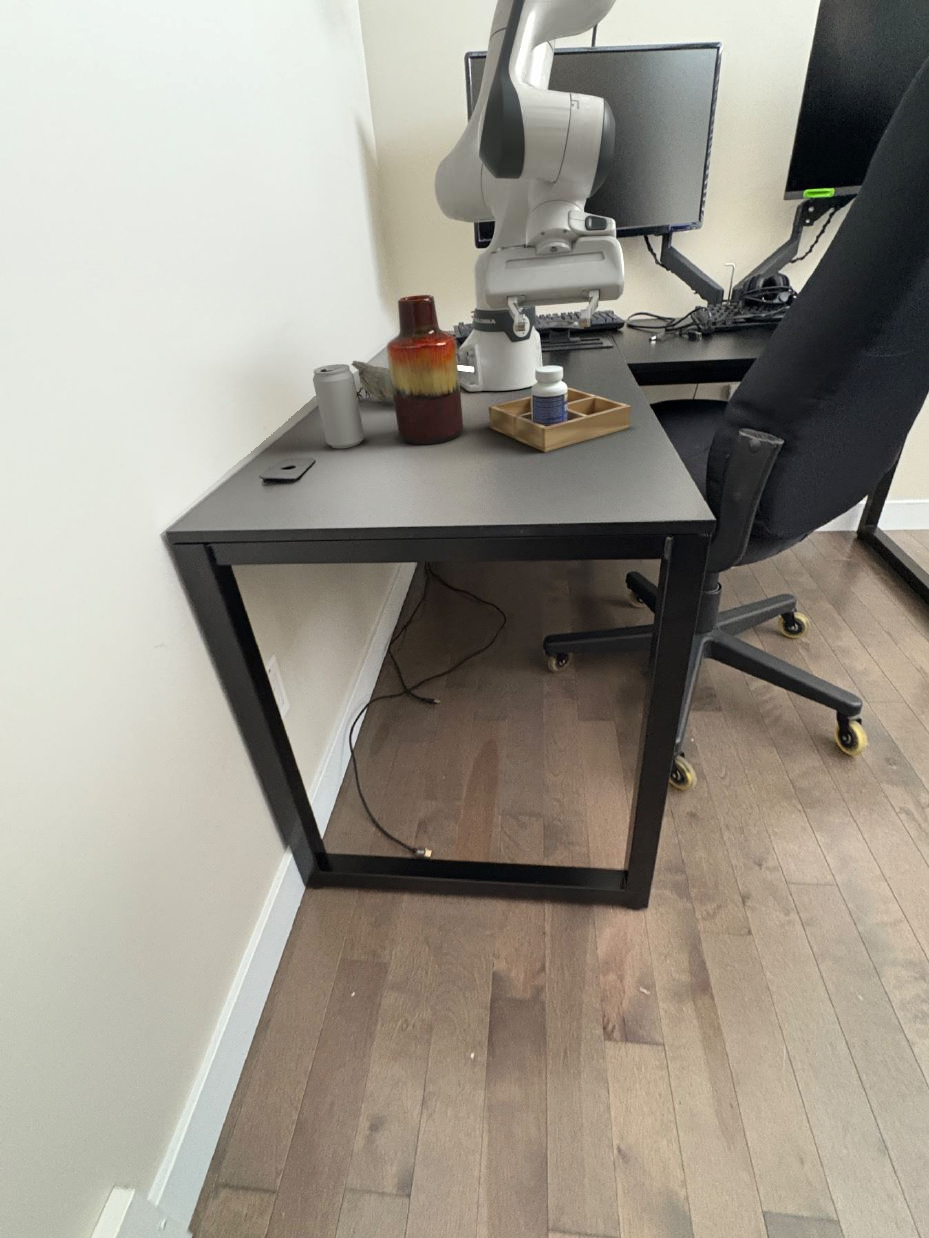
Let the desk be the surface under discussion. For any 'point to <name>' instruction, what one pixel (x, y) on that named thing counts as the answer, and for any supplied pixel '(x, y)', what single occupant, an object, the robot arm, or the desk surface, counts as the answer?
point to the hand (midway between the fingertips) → (552, 327)
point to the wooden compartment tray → (583, 422)
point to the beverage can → (338, 405)
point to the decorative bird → (375, 381)
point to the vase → (424, 375)
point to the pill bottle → (549, 396)
